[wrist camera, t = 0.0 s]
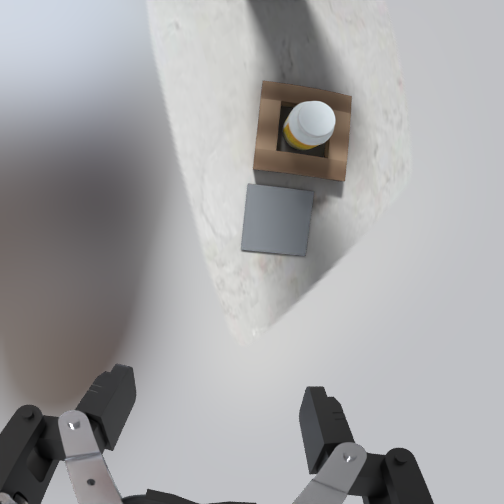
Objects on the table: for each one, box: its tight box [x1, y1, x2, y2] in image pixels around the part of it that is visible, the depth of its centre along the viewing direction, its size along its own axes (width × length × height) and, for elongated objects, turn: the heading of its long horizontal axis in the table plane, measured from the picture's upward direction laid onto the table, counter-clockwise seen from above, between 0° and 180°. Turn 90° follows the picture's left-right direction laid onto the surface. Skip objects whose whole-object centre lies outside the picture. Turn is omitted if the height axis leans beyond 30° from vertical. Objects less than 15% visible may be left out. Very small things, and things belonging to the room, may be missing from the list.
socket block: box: [253, 81, 352, 181], centre depth 35 cm, size 12×12×2 cm
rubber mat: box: [241, 184, 314, 256], centre depth 39 cm, size 9×9×1 cm
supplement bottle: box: [283, 101, 335, 150], centre depth 32 cm, size 5×5×10 cm
